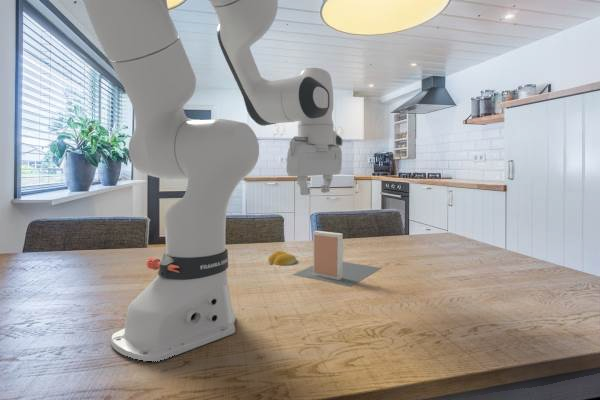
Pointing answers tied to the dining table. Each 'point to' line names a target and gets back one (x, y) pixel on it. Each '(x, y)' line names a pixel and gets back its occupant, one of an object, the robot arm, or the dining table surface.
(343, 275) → the mat
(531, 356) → the dining table surface
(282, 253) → the bread roll
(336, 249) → the tile
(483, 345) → the dining table surface
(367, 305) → the dining table surface
